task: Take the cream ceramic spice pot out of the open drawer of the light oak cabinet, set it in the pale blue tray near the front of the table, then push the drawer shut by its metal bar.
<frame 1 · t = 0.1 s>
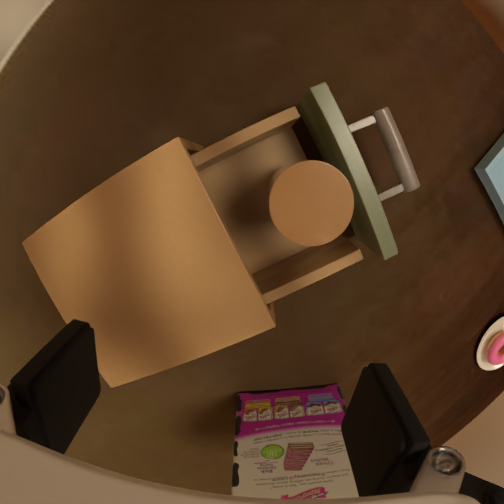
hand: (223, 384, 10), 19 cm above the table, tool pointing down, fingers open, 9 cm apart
candy bar box: (289, 403, 33), on the table
cabinet: (165, 251, 29), on the table
drawer: (298, 192, 23), point 4 cm above the table, slide at 8.5 cm, touching spice pot
spice pot: (293, 191, 25), point 2 cm above the table, touching drawer
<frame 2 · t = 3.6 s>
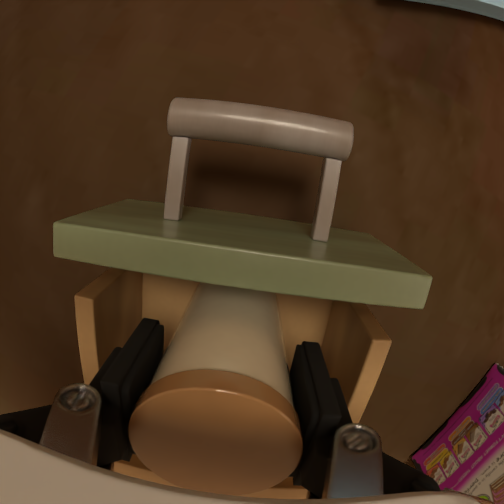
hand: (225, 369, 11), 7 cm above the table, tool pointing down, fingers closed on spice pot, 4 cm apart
candy bar box: (466, 416, 21), on the table
cabinet: (216, 444, 21), on the table
drawer: (231, 330, 14), point 4 cm above the table, slide at 8.5 cm, touching spice pot
spice pot: (234, 310, 16), point 2 cm above the table, touching drawer, gripper
when the fingers open (5 cm above the table, at t = 11.1 s): spice pot stays where it is, resting on tray.
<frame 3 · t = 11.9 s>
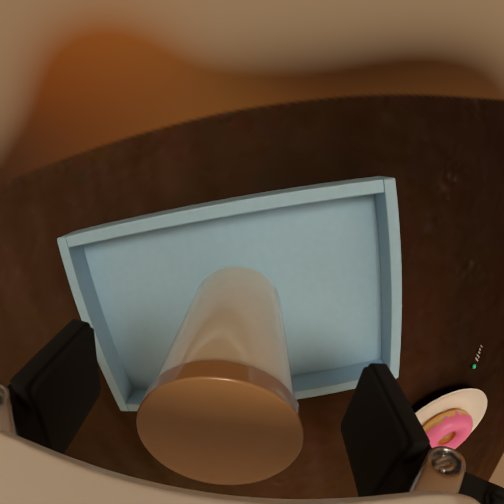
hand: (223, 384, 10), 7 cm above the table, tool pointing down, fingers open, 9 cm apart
spice pot: (237, 307, 16), resting on tray
donut: (442, 406, 19), on the table
tray: (237, 303, 17), on the table
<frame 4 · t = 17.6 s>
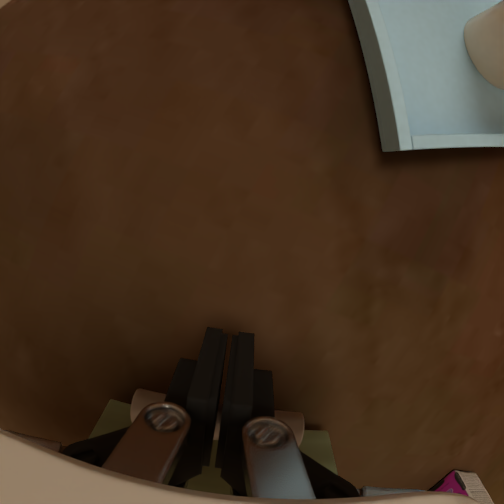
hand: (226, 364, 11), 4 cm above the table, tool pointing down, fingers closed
candy bar box: (425, 501, 21), on the table
spice pot: (493, 52, 11), resting on tray
tray: (488, 53, 11), on the table
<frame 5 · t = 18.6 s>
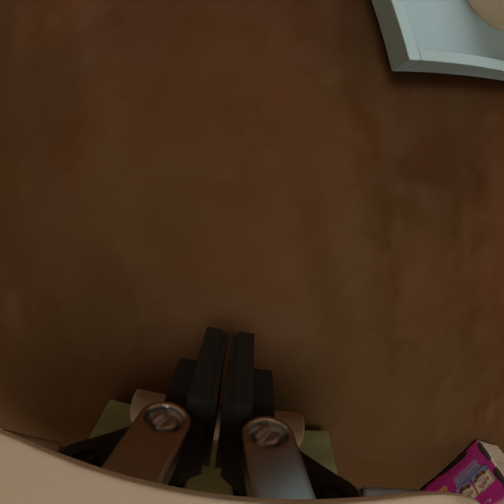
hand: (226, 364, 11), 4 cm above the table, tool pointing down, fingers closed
candy bar box: (445, 479, 20), on the table
tray: (483, 0, 10), on the table
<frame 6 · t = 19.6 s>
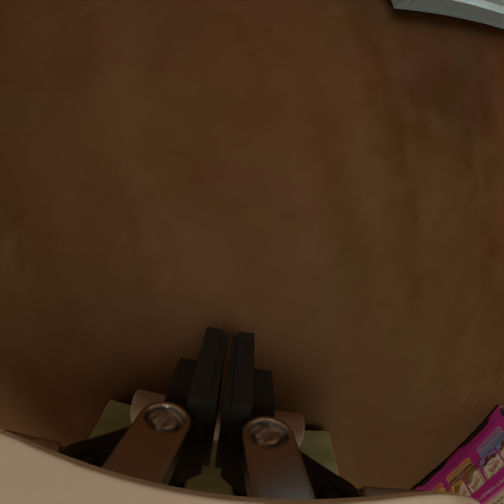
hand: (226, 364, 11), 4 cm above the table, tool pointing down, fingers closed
candy bar box: (465, 453, 19), on the table
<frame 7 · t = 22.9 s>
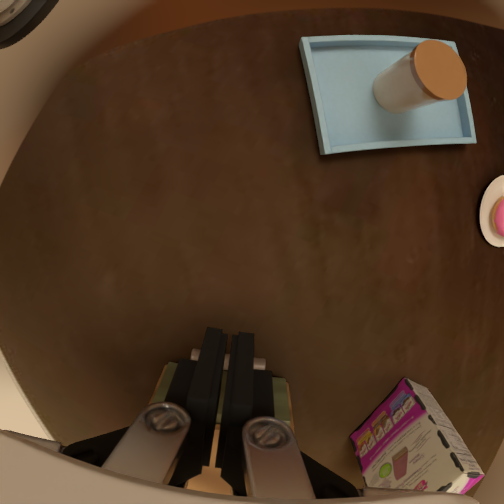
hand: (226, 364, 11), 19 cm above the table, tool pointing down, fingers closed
candy bar box: (388, 411, 35), on the table
cabinet: (220, 420, 35), on the table
drawer: (220, 422, 30), point 4 cm above the table, slide at 0.0 cm, touching cabinet
spice pot: (394, 91, 25), resting on tray
donut: (501, 197, 28), on the table
tray: (391, 92, 26), on the table
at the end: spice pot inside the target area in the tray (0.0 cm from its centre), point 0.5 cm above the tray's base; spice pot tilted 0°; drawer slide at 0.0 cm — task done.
